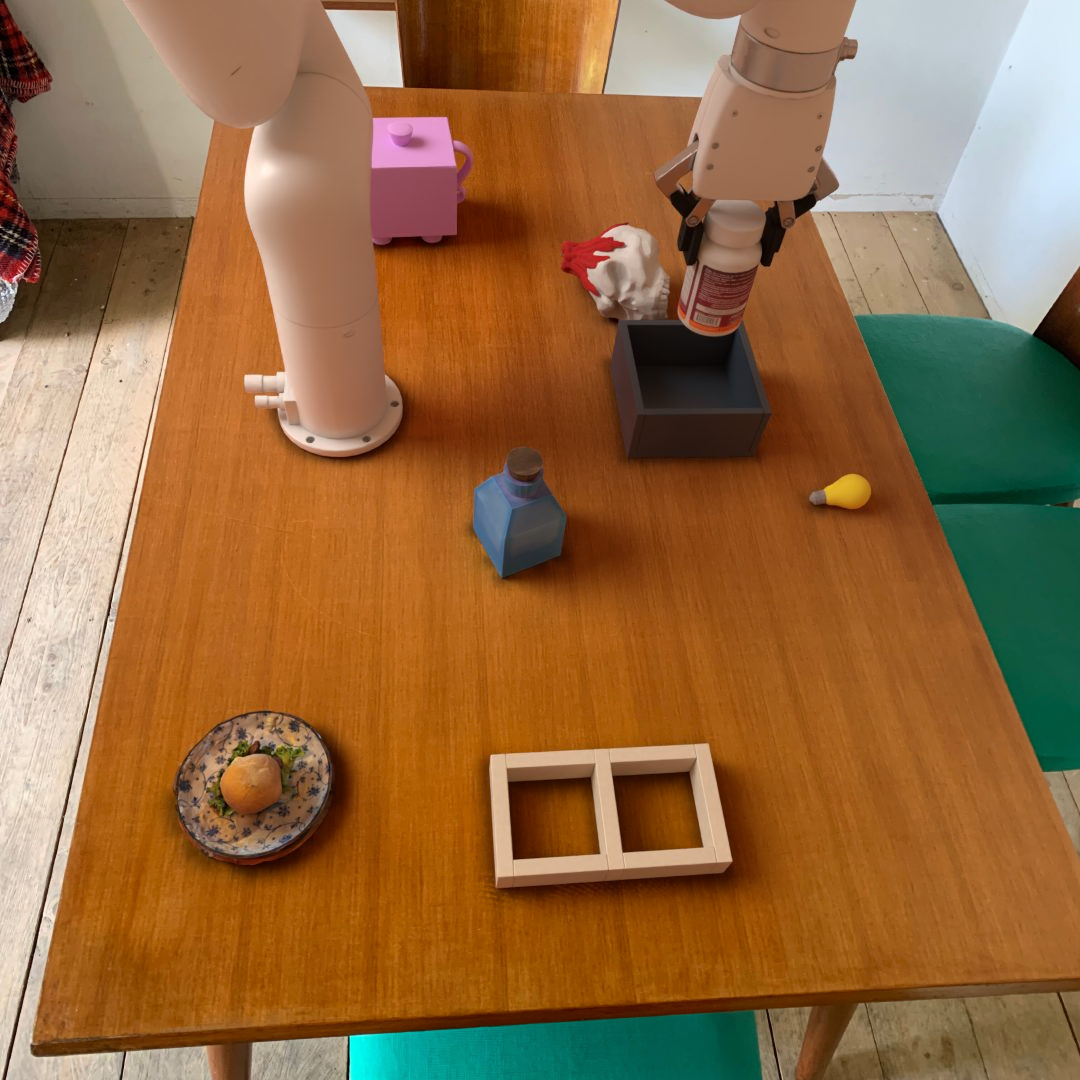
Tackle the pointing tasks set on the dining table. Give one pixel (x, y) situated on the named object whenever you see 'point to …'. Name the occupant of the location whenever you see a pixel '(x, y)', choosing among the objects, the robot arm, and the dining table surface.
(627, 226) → the candle
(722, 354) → the dark grey open box
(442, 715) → the dining table surface
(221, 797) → the burger
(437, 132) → the teapot
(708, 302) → the pill bottle
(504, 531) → the perfume bottle
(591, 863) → the frame
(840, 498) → the light bulb
